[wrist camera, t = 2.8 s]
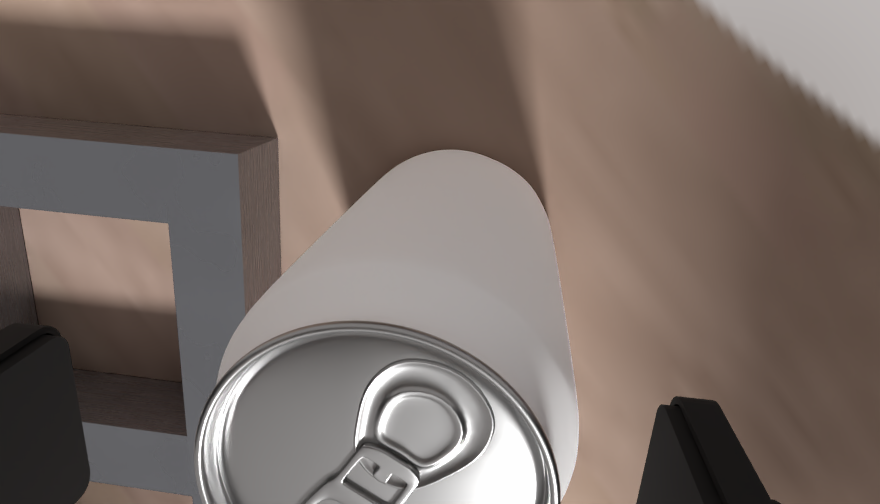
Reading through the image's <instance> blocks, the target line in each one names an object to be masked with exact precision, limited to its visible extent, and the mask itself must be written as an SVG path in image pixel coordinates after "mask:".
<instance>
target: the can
mask: <svg viewBox="0 0 880 504" xmlns="http://www.w3.org/2000/svg"><path fill="white" fill-rule="evenodd" d="M578 438H579V415H578V404H577V394H576V386H575V379H574V371H573V364H572V357H571V350H570V343H569V336H568V330H567V323H566V316H565V310H564V303H563V297H562V290H561V284H560V278H559V272H558V265H557V259H556V253H555V247H554V242H553V236H552V232H551V227H550V223H549V220H548V217H547V214H546V212H545V210H544V207H543V205H542V203H541V201H540V199H539V198H538V196H537V194H536V193H535V191H534V190H533V188H532V187H531V186H530V185H529V183H528V182H527V181H526V180H525V179H524V178H523V177H521V176H520V175H519V174H518V173H516V172H515V171H514V170H512V169H511V168H509V167H507V166H506V165H504V164H502V163H500V162H498V161H496V160H494V159H491V158H489V157H486V156H484V155H481V154H478V153H474V152H470V151H464V150H438V151H432V152H427V153H424V154H420V155H417V156H415V157H412V158H410V159H408V160H406V161H404V162H402V163H400V164H399V165H397V166H396V167H394V168H393V169H391V170H390V171H389V172H388V173H386V174H385V175H384V176H383V177H382V178H381V179H380V180H378V181H377V182H376V183H375V184H374V185H373V186H372V187H371V188H370V189H369V190H368V191H367V192H366V193H365V194H364V195H363V196H362V197H361V198H360V199H359V200H358V201H356V202H355V203H354V204H353V205H352V206H351V207H350V208H349V209H348V210H347V211H346V212H345V213H344V214H343V215H342V216H341V217H340V218H339V219H338V220H337V221H336V222H335V223H334V224H333V225H332V226H331V227H330V228H329V229H328V230H327V231H326V232H325V233H324V234H323V235H322V236H321V237H320V238H319V239H318V240H317V241H316V242H315V243H314V244H313V245H312V246H311V247H310V248H309V249H308V250H307V251H306V252H305V253H304V254H303V255H302V256H301V257H300V258H299V259H298V260H297V261H296V262H295V263H294V264H293V265H292V266H291V267H290V268H289V269H288V270H287V271H286V272H285V273H284V274H283V275H282V276H281V277H280V278H279V279H278V280H277V281H276V282H275V283H274V284H273V285H272V286H271V287H270V288H269V289H268V290H267V291H266V292H265V293H264V295H263V296H262V297H261V298H260V299H259V300H258V301H257V302H256V303H255V304H254V306H253V307H252V308H251V309H250V310H249V312H248V313H247V314H246V316H245V317H244V319H243V320H242V321H241V323H240V324H239V326H238V327H237V329H236V331H235V332H234V334H233V336H232V337H231V339H230V341H229V343H228V345H227V348H226V350H225V353H224V355H223V358H222V361H221V365H220V369H219V373H218V378H217V383H216V386H215V387H214V389H213V391H212V392H211V394H210V396H209V398H208V399H207V401H206V404H205V406H204V408H203V411H202V413H201V416H200V419H199V423H198V426H197V431H196V437H195V445H194V467H195V476H196V481H197V486H198V490H199V494H200V497H201V500H202V503H203V504H561V500H562V498H563V496H564V494H565V492H566V490H567V487H568V485H569V483H570V480H571V477H572V474H573V471H574V467H575V463H576V458H577V451H578Z"/></svg>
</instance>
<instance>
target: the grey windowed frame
mask: <svg viewBox="0 0 880 504" xmlns="http://www.w3.org/2000/svg"><path fill="white" fill-rule="evenodd" d="M18 208H24V209H34V210H44V211H53V212H63V213H73V214H83V215H92V216H102V217H112V218H122V219H131V220H141V221H151V222H160V223H168V225H169V236H170V248H171V259H172V270H173V282H174V293H175V304H176V316H177V327H178V339H179V350H180V361H181V373H182V383H179V382H171V381H164V380H156V379H148V378H140V377H133V376H125V375H117V374H109V373H102V372H94V371H86V370H78V369H73V373H74V379H75V385H76V391H77V396H78V402H79V408H80V414H81V420H82V425H83V431H84V437H85V443H86V449H87V454H88V460H89V466H90V480H89V481H92V482H99V483H106V484H113V485H120V486H126V487H133V488H140V489H147V490H153V491H160V492H167V493H174V494H180V495H187V496H192V498H193V504H203V503H202V500H201V497H200V494H199V490H198V486H197V481H196V476H195V467H194V445H195V437H196V431H197V426H198V423H199V419H200V416H201V413H202V411H203V408H204V406H205V404H206V401H207V399H208V398H209V396H210V394H211V392H212V391H213V389H214V387H215V386H216V383H217V378H218V373H219V369H220V365H221V361H222V358H223V355H224V353H225V350H226V348H227V345H228V343H229V341H230V339H231V337H232V336H233V334H234V332H235V331H236V329H237V327H238V326H239V324H240V323H241V321H242V320H243V319H244V317H245V316H246V314H247V313H248V312H249V310H250V309H251V308H252V307H253V306H254V304H255V303H256V302H257V301H258V300H259V299H260V298H261V297H262V296H263V295H264V293H265V292H266V291H267V290H268V289H269V288H270V287H271V286H272V285H273V284H274V283H275V282H276V281H277V280H278V279H279V278H280V277H281V250H280V209H279V168H278V138H271V137H260V136H248V135H237V134H225V133H214V132H202V131H191V130H179V129H168V128H156V127H145V126H133V125H122V124H110V123H99V122H87V121H76V120H64V119H53V118H41V117H30V116H19V115H7V114H0V330H1V329H3V328H5V327H6V326H8V325H11V324H13V323H24V324H33V325H38V320H37V314H36V309H35V303H34V297H33V291H32V285H31V280H30V274H29V268H28V262H27V256H26V250H25V245H24V239H23V233H22V227H21V221H20V216H19V210H18Z"/></svg>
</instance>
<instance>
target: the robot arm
mask: <svg viewBox="0 0 880 504" xmlns="http://www.w3.org/2000/svg"><path fill="white" fill-rule="evenodd" d="M89 480H90V466H89V460H88V454H87V449H86V443H85V437H84V431H83V425H82V420H81V414H80V408H79V402H78V396H77V391H76V385H75V379H74V373H73V367H72V361H71V356H70V350H69V345H68V342H67V341H66V340H65V338H63V337H61V335H60V333H59V332H58V331H57V329H55V328H53V327H51V326H42V325H33V324H24V323H13V324H11V325H8V326H6V327H5V328H3V329H1V330H0V504H75V503H76V502H77V501H78V500H79V499H80V497H81V496H82V495H83V494H84V492H85V490H86V488H87V486H88V483H89ZM636 504H781V503H779V502H777V501H776V500H771V499H770V497H769V495H768V493H767V492H766V490H765V488H764V486H763V484H762V482H761V481H760V479H759V477H758V475H757V473H756V471H755V470H754V468H753V466H752V464H751V462H750V460H749V459H748V457H747V455H746V453H745V451H744V450H743V448H742V446H741V444H740V442H739V440H738V439H737V437H736V435H735V433H734V431H733V429H732V428H731V426H730V424H729V422H728V420H727V419H726V417H725V415H724V413H723V411H722V409H721V408H720V406H719V404H718V403H717V402H716V401H713V400H705V399H696V398H687V397H678V396H676V397H674V398H673V400H672V401H671V404H670V405H660V406H659V408H658V410H657V413H656V418H655V422H654V427H653V431H652V436H651V440H650V445H649V449H648V454H647V458H646V463H645V467H644V472H643V476H642V481H641V485H640V490H639V494H638V499H637V503H636Z"/></svg>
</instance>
